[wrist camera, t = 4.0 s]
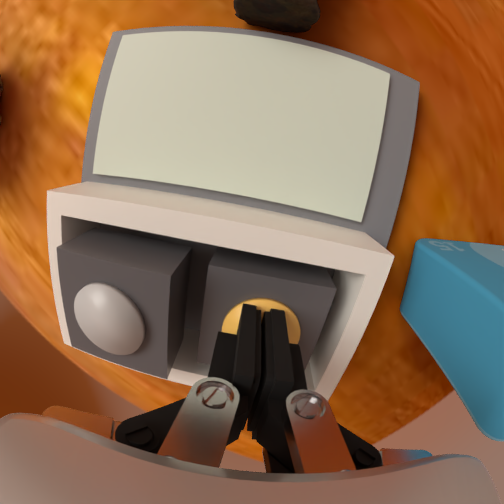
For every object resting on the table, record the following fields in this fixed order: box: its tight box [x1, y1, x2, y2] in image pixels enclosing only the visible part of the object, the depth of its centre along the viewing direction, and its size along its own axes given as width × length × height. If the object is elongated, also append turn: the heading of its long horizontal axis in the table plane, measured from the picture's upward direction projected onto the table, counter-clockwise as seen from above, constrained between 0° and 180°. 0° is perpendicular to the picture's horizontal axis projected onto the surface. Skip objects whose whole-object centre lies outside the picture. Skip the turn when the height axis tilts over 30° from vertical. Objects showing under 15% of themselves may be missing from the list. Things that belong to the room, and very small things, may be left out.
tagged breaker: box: [197, 246, 337, 371], centre depth 12 cm, size 5×5×3 cm
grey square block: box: [56, 227, 192, 379], centre depth 11 cm, size 5×5×3 cm
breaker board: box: [47, 26, 420, 401], centre depth 11 cm, size 17×18×4 cm
